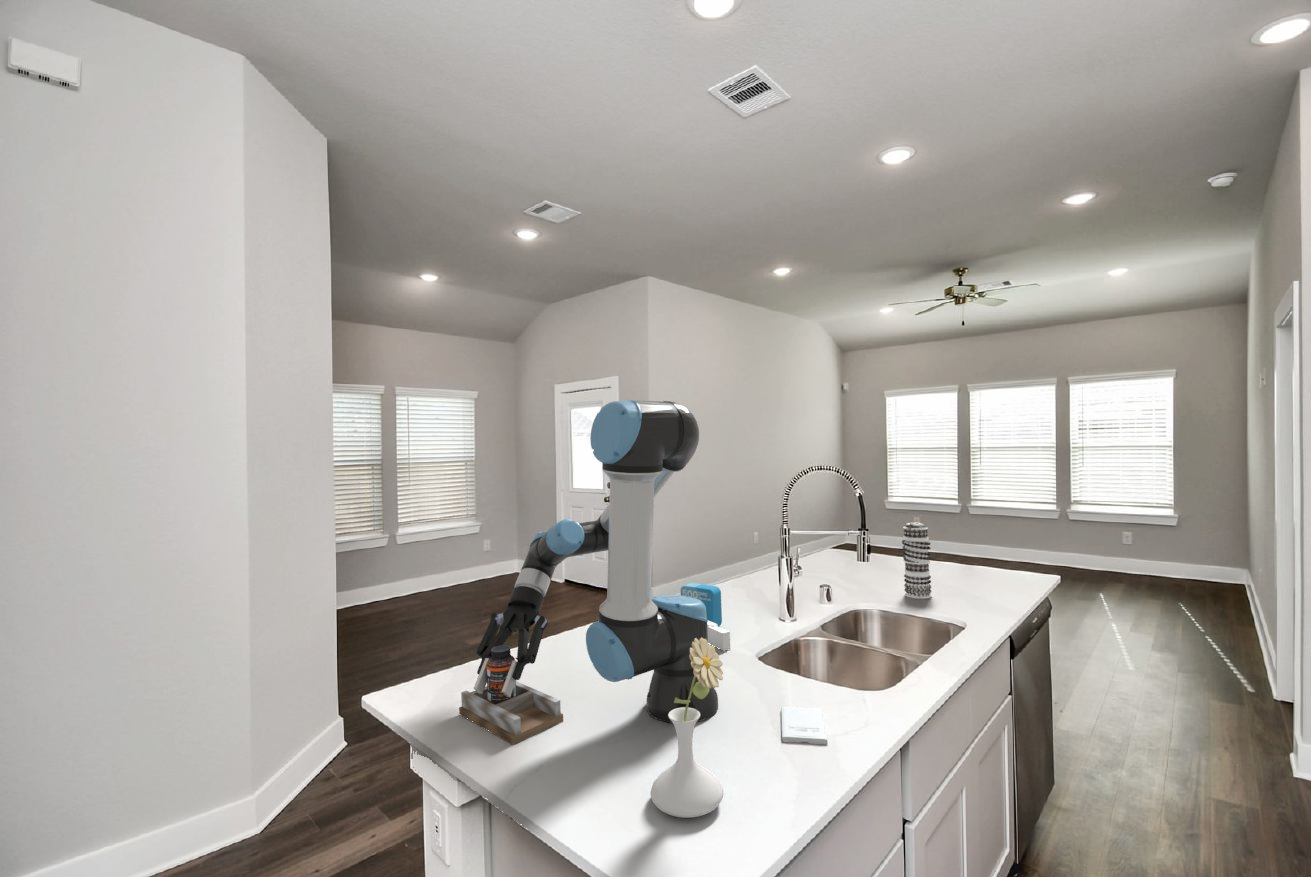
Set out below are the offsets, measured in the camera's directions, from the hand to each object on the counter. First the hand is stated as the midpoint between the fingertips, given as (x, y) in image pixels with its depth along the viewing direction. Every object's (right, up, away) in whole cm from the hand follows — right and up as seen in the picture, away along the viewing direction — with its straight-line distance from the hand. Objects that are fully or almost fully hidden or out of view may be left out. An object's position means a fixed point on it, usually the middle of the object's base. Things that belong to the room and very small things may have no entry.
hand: (491, 692), depth 122 cm
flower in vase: (+39, -5, -29) cm, 49 cm away
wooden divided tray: (+3, -6, +1) cm, 7 cm away
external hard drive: (+63, -5, -7) cm, 63 cm away
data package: (+48, -5, +58) cm, 76 cm away
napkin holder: (+51, -5, +42) cm, 66 cm away
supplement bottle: (+1, -4, +3) cm, 5 cm away
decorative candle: (+125, -2, +83) cm, 150 cm away
